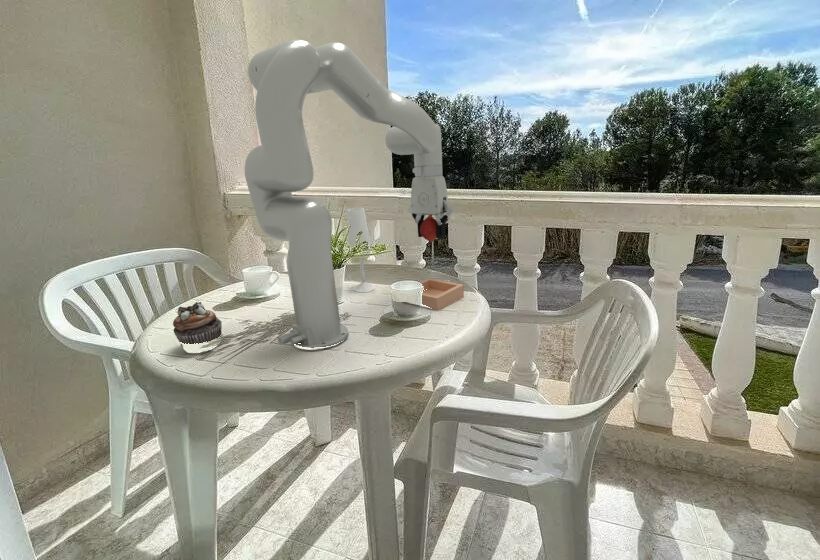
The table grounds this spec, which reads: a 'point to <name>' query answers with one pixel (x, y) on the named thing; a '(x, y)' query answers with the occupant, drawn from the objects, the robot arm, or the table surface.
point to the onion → (429, 228)
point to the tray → (440, 293)
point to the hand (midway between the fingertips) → (431, 236)
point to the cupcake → (196, 324)
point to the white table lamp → (360, 224)
